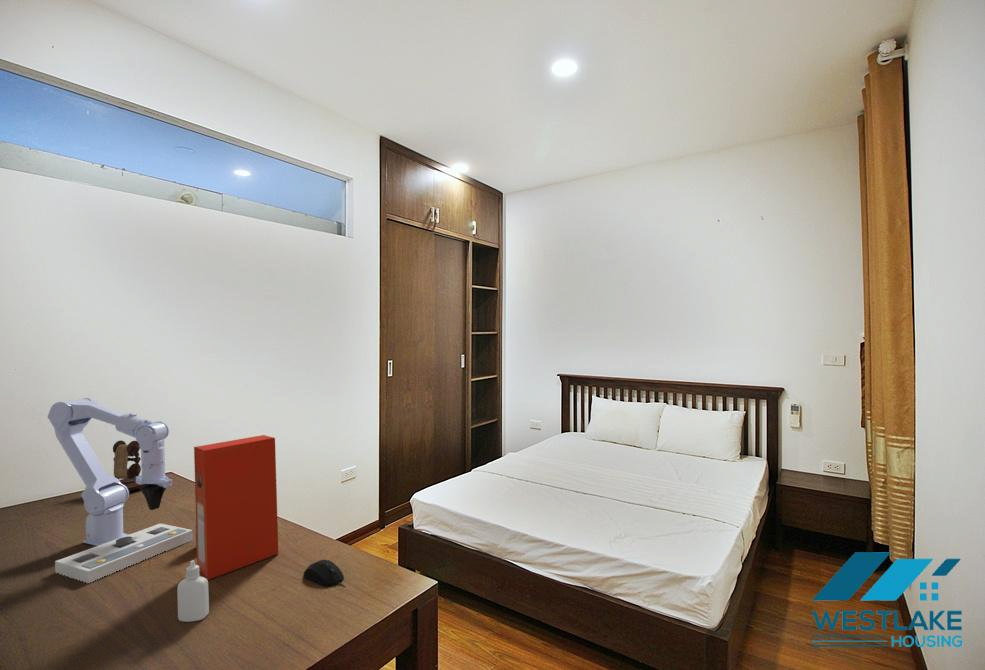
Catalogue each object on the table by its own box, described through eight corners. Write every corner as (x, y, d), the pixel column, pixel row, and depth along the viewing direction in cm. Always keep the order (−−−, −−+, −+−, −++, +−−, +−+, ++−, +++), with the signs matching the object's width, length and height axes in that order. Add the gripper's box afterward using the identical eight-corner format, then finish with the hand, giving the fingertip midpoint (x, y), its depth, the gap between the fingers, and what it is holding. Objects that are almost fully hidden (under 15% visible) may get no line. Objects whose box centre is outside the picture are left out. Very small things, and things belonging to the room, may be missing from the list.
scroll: (94, 495, 183) (92, 444, 183) (129, 483, 198) (128, 436, 198) (126, 496, 181) (124, 445, 181) (159, 484, 195) (158, 436, 195)
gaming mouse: (334, 595, 107) (334, 577, 107) (298, 577, 116) (298, 561, 116) (357, 583, 112) (357, 566, 112) (320, 566, 121) (320, 551, 121)
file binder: (197, 570, 120) (194, 446, 120) (265, 546, 133) (262, 434, 133) (208, 580, 115) (205, 450, 115) (278, 554, 128) (275, 438, 128)
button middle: (113, 548, 130) (112, 540, 130) (127, 542, 133) (127, 535, 133) (120, 550, 128) (120, 542, 128) (135, 544, 132) (135, 537, 132)
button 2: (147, 539, 138) (147, 532, 138) (160, 534, 141) (160, 527, 141) (155, 540, 136) (155, 534, 136) (168, 535, 140) (168, 529, 140)
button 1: (73, 567, 121) (73, 559, 121) (90, 561, 125) (89, 553, 125) (81, 569, 120) (81, 561, 120) (97, 563, 123) (97, 555, 123)
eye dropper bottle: (196, 608, 103) (195, 554, 103) (211, 615, 100) (210, 559, 100) (175, 619, 99) (173, 562, 99) (190, 626, 96) (189, 568, 96)
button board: (55, 572, 121) (55, 560, 121) (160, 533, 145) (160, 522, 145) (88, 583, 115) (88, 570, 115) (192, 540, 139) (192, 529, 139)
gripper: (124, 464, 139) (125, 510, 139) (153, 469, 133) (154, 516, 133) (149, 458, 146) (150, 502, 146) (178, 462, 140) (180, 508, 140)
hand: (154, 508), depth 140 cm, fingers closed
